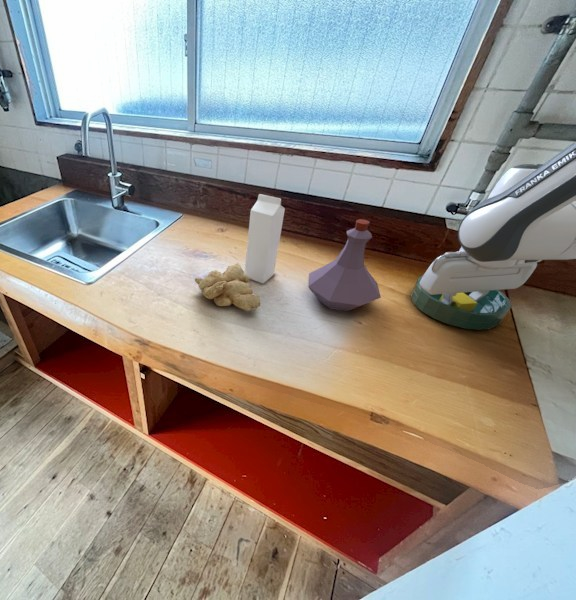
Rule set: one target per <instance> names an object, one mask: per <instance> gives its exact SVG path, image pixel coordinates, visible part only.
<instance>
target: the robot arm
mask: <svg viewBox="0 0 576 600" xmlns="http://www.w3.org/2000/svg"><path fill="white" fill-rule="evenodd" d="M457 240H458V242H459V245H460V248H459V250H458V251H447V252H445V253H443V254H441V255H440V256H437V257H436V258H435V259H434V260H433V261H432V263H431V264H430V265H429V266H428V268H427V269H426V271H425V272H424V274H422V275H423V277H422V279H421V281H420V286H421V288H422V289H424V290H425V291H426V292H427V293H429V294H431V295H436V294H443V297H444V298H443V300H442V303H445V304H447V305H450V306H452V307H453V306H454V304H455V302H456V301H454V300H453V296H456V294H457V293H463V292H472V293H471V294H470V295H468V296H469V297H470V298H471V299H473V300H474V301H476V302H477V301H478V300H479V299H481V298H482V297H484V296H485V295H487V294H488V292H489V291H490V290H500V291H503V290H516V289H519V288H520V287H521V286H523V285H524V284H525V283H526V282H527V280H528V279H529V278H530V277H531V276H532V274H533V273H534V271H535V270H536V268H537V267H538V263H540V262H542V261H563V260H566V261H567V260H576V141H574V142H573V143H571V144H570V145H568V146H567V147H566V148H564V149H563V150H561V151H560V152H559V153H557V154H555V155H554V156H552V157H551V158H550V159H549V160H547V161H546V162H545V163H523V164H517V165H516V166H512V167H511V168H509V169H508V170H507V171H506V172H505V173H504V174H503V175H502V176H501V178H500V179H499V180H498V181H497V183H496V184H495V185H494V187H493V188H492V190H491V191H490V193H489V195H488V197H487V198H486V199H484V200H482V201H481V202H480V203H478V204H476V205H475V206H474V207H473V208H472V209H470V210H469V211H468V212H467V213H466V215H465V216H464V217H463V218H462V220H461V222H460V223H459V226H458V228H457Z"/></svg>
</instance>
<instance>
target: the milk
mask: <svg viewBox="0 0 576 600" xmlns="http://www.w3.org/2000/svg"><path fill="white" fill-rule="evenodd" d="M257 195H258V196H257V200H256V202H255V203H254V205H252V207H251V208H250V212H249V213H250V214H249V223H248V233H247V243H246V251H245V261H244V262H245V263H244V270H243V272H244V273H243V274H246V275H247V276H248V277H249V280H252V281H254V282H256V283H260V284H262V285H263V284H264V283H266V282H267V281H268V280H270V278H272V277H273V276H274V275H275V270H276V265H277V264H276V263H277V258H278V252H279V246H280V241H281V235H282V228H283V222H284V218H285V217H284V216H285V210H286V208H285V206H283V205H282V198H280V197H277V196H271V195H267V194H262V193H259V194H257Z"/></svg>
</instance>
